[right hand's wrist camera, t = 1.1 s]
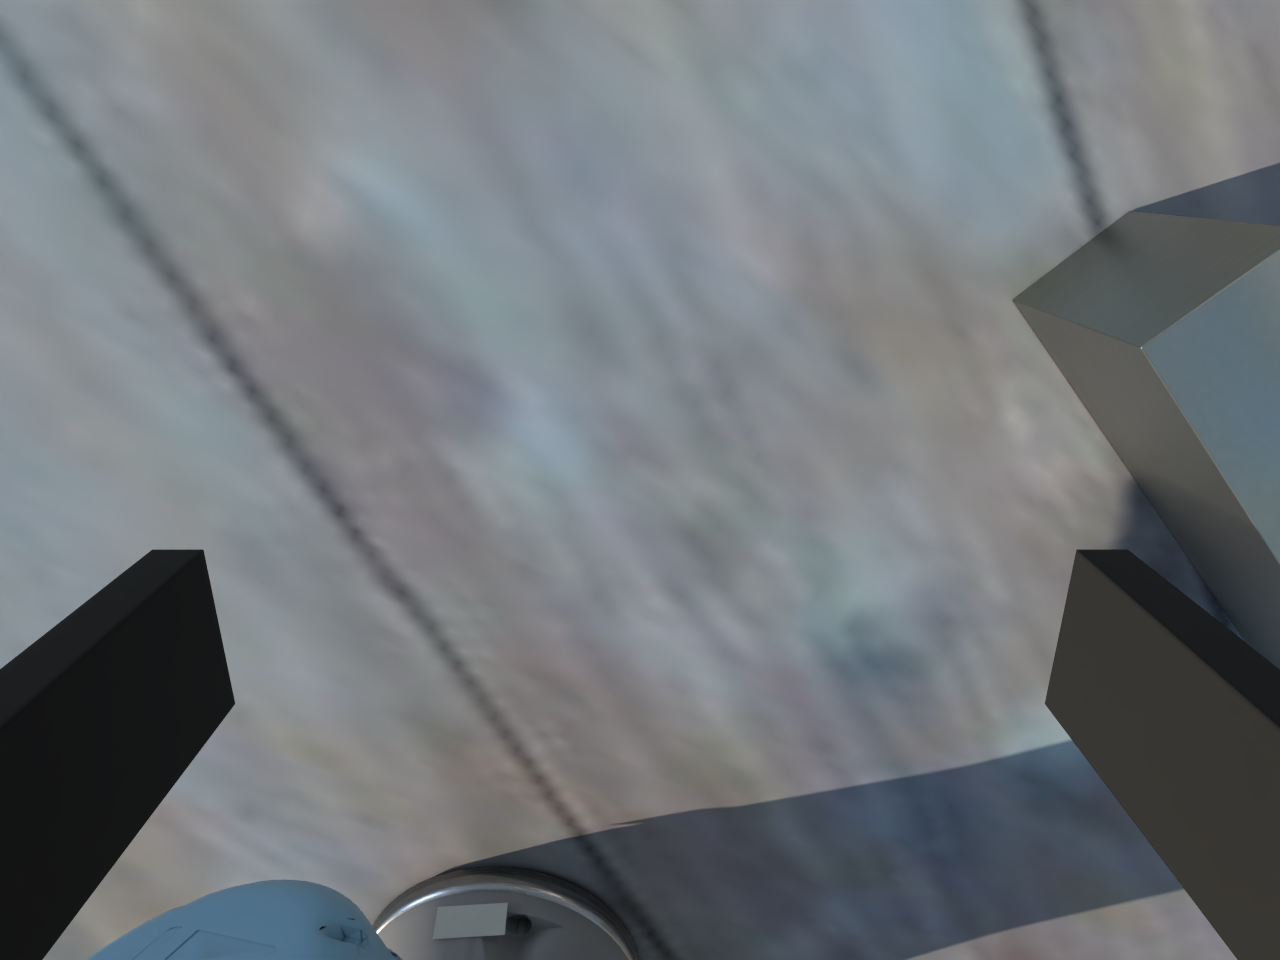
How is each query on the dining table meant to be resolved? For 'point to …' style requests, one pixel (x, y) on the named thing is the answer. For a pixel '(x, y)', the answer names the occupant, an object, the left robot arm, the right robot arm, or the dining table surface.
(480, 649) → the dining table surface
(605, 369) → the dining table surface
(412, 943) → the left robot arm
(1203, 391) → the bar
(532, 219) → the dining table surface
